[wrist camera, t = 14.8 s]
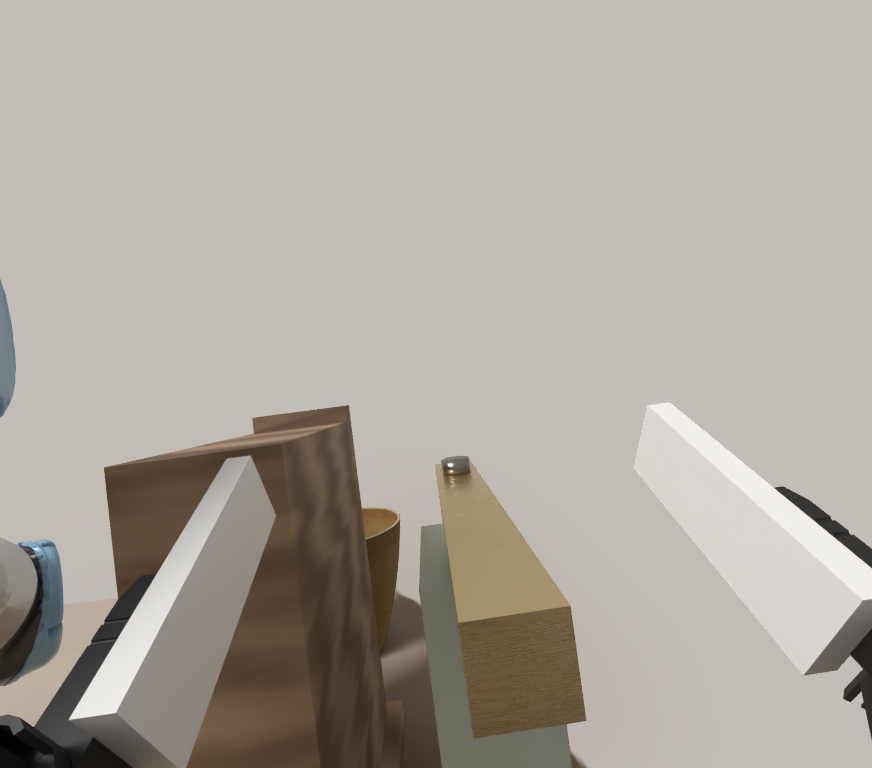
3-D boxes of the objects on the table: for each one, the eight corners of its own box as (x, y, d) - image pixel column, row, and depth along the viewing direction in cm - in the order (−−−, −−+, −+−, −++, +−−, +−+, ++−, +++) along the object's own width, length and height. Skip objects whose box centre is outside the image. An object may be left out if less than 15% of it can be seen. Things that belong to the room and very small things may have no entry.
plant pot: (382, 699, 40) (363, 549, 40) (272, 681, 45) (256, 547, 45) (431, 615, 54) (416, 504, 54) (343, 608, 59) (330, 506, 59)
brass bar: (585, 720, 12) (565, 567, 12) (473, 739, 11) (453, 583, 12) (474, 494, 37) (468, 448, 38) (439, 499, 37) (433, 452, 37)
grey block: (599, 965, 20) (545, 572, 21) (470, 989, 20) (419, 591, 20) (541, 776, 30) (506, 514, 31) (455, 790, 30) (421, 526, 30)
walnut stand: (381, 1074, 18) (300, 412, 18) (122, 1124, 17) (51, 444, 18) (404, 714, 38) (365, 403, 38) (284, 733, 37) (247, 418, 38)
